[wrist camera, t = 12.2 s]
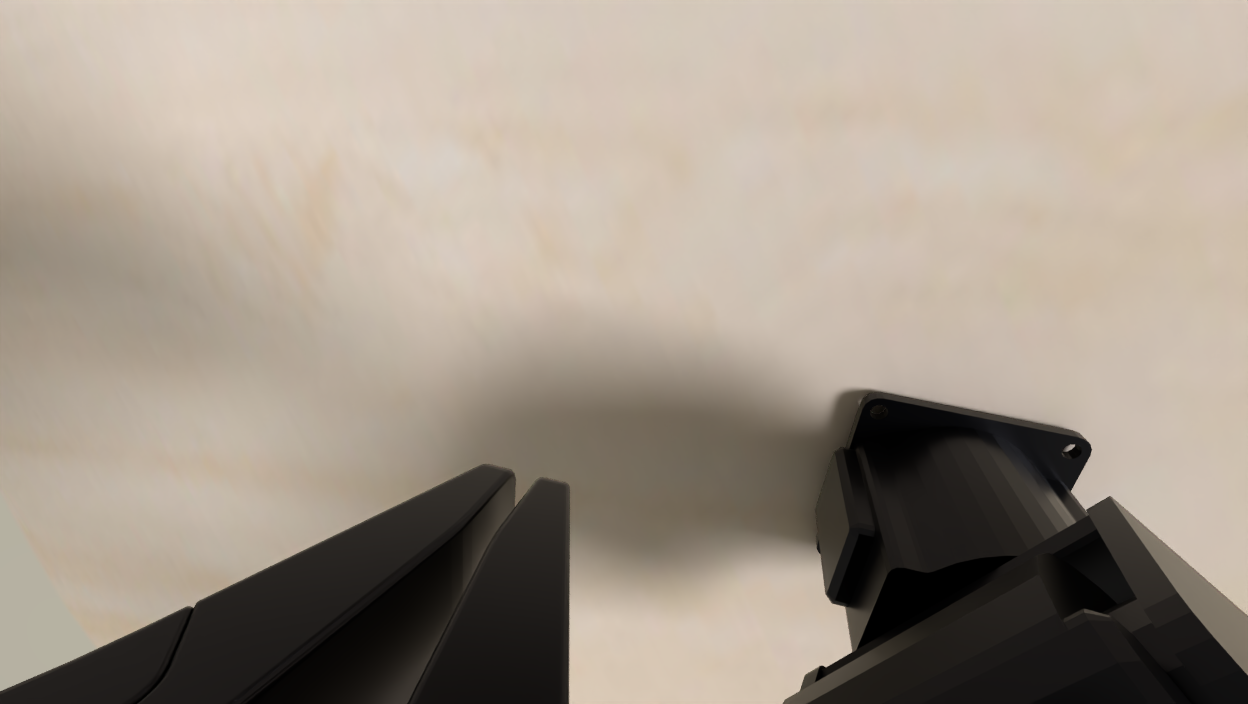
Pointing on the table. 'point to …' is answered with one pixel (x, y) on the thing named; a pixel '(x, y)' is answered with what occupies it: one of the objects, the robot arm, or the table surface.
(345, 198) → the table surface
